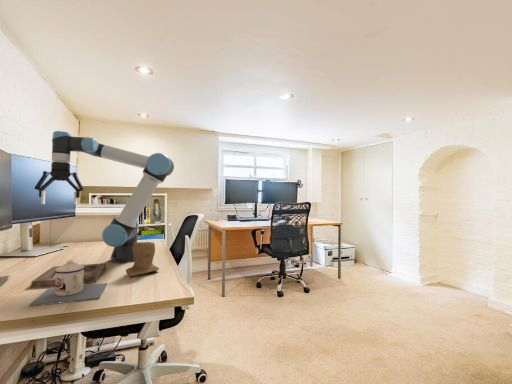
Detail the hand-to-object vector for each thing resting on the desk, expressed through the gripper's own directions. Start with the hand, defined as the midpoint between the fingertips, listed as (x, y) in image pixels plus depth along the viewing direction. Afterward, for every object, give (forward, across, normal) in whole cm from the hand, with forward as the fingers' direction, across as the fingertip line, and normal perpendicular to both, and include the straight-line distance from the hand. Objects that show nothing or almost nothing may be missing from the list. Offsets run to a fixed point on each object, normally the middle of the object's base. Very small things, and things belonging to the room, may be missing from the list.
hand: (59, 204), depth 130 cm
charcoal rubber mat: (+32, -18, +43) cm, 56 cm away
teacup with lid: (+31, -18, +43) cm, 56 cm away
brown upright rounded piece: (+32, -40, +22) cm, 56 cm away
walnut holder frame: (+32, -12, +20) cm, 39 cm away
